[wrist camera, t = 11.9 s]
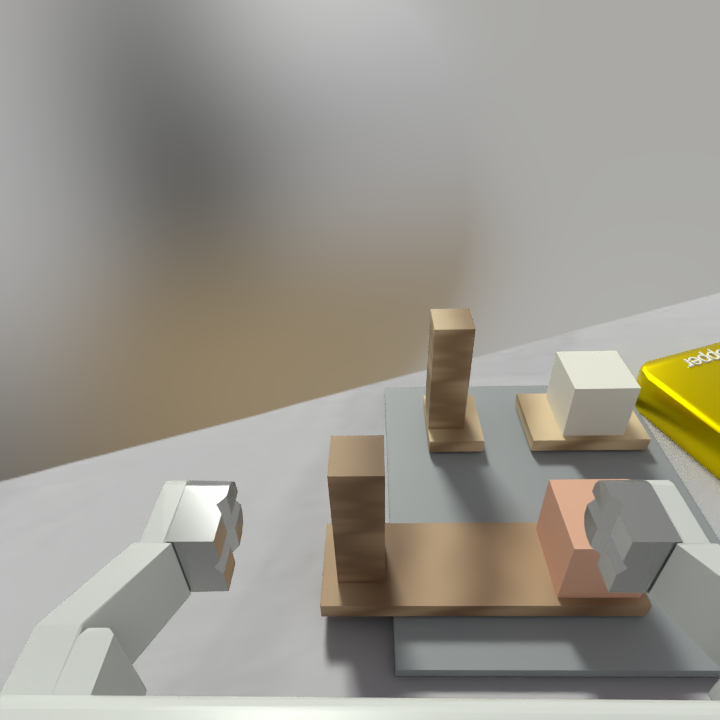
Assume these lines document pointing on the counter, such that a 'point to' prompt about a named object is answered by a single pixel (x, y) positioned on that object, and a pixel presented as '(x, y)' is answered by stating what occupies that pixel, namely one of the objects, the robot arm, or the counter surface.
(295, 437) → the counter surface
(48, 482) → the counter surface
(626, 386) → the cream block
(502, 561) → the wooden l-shaped stand
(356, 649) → the counter surface
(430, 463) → the slate board
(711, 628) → the robot arm
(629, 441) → the broken oak strip
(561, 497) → the terracotta block
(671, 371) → the element tile
